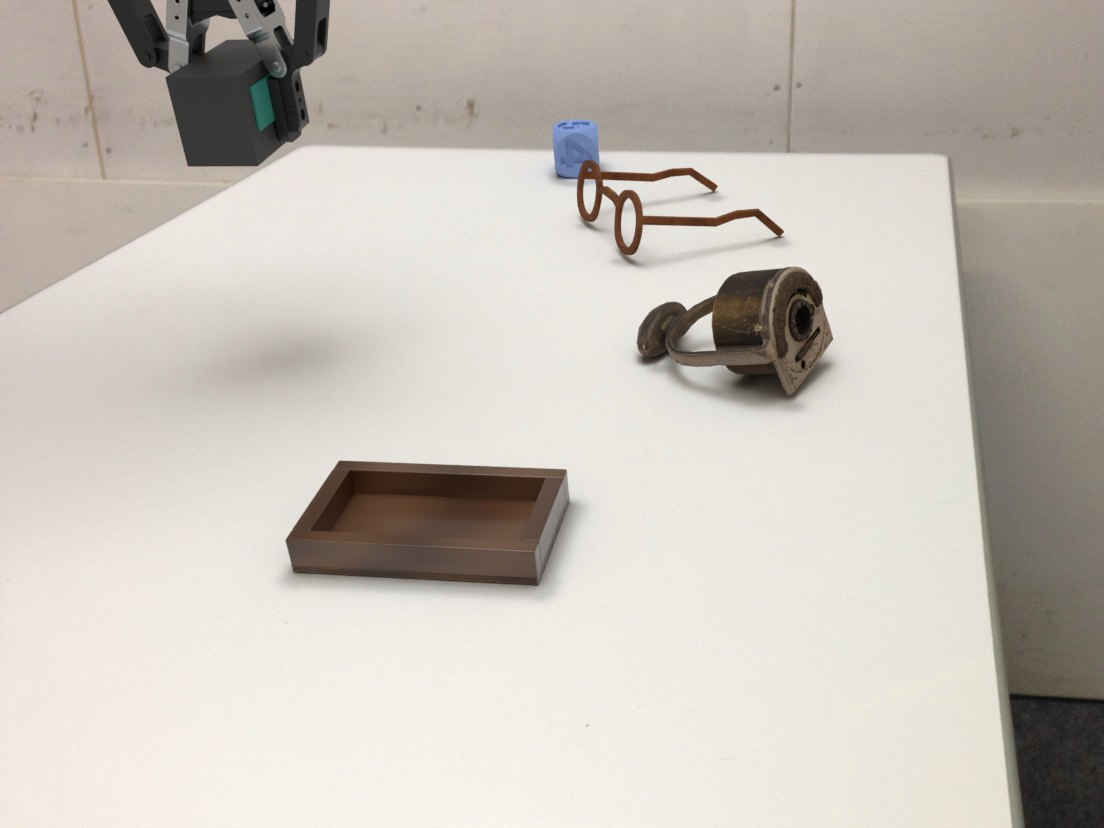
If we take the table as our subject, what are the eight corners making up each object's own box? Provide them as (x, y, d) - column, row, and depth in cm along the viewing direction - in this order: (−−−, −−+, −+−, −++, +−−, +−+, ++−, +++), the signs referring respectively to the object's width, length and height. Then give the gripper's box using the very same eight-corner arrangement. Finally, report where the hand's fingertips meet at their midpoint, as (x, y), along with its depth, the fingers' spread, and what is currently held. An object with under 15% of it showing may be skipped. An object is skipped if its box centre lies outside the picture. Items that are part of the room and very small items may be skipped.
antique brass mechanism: (731, 344, 73) (861, 264, 76) (602, 261, 81) (724, 192, 84) (744, 440, 78) (865, 362, 81) (622, 354, 86) (736, 285, 89)
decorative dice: (600, 176, 115) (597, 130, 113) (555, 179, 115) (552, 133, 113) (599, 163, 118) (596, 118, 116) (556, 165, 118) (552, 120, 116)
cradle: (292, 572, 66) (284, 539, 65) (345, 490, 72) (338, 459, 71) (538, 585, 64) (534, 552, 63) (570, 500, 71) (567, 468, 69)
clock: (260, 166, 75) (240, 76, 72) (187, 166, 76) (164, 77, 73) (312, 122, 82) (296, 38, 79) (244, 123, 83) (226, 39, 80)
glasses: (574, 216, 107) (569, 155, 104) (715, 190, 111) (715, 130, 108) (633, 268, 97) (630, 202, 94) (786, 237, 101) (788, 173, 98)
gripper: (18, -178, 66) (115, 158, 77) (280, -190, 64) (343, 157, 75) (86, -192, 72) (168, 122, 83) (329, -203, 70) (381, 120, 81)
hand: (251, 137), depth 79 cm, fingers closed on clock, 4 cm apart
